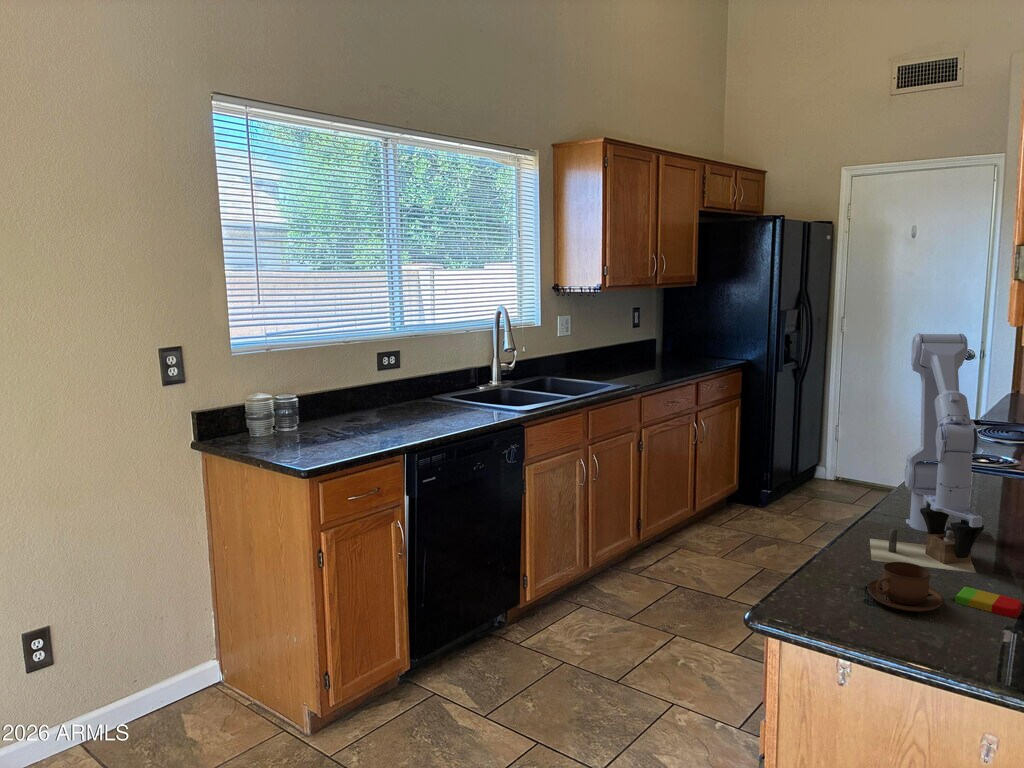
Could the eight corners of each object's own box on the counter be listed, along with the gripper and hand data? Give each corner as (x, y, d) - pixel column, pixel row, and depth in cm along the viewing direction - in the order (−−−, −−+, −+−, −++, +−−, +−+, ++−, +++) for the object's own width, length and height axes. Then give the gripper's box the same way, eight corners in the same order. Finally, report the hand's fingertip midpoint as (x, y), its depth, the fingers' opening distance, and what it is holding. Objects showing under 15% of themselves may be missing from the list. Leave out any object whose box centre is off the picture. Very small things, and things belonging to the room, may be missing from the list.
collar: (925, 553, 154) (926, 534, 154) (950, 552, 155) (952, 533, 155) (943, 564, 149) (945, 544, 148) (970, 562, 150) (971, 542, 149)
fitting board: (869, 543, 164) (871, 513, 163) (966, 554, 156) (968, 523, 156) (871, 564, 152) (872, 533, 151) (975, 577, 145) (978, 545, 144)
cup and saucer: (921, 624, 127) (924, 589, 126) (853, 600, 137) (855, 567, 136) (955, 605, 134) (958, 571, 133) (888, 583, 144) (890, 552, 143)
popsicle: (1016, 621, 128) (1017, 610, 128) (919, 596, 138) (920, 586, 138) (1023, 610, 132) (1024, 600, 132) (928, 586, 142) (929, 577, 142)
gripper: (911, 475, 156) (907, 538, 158) (959, 495, 142) (954, 565, 144) (943, 473, 157) (938, 536, 159) (994, 494, 143) (989, 563, 145)
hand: (948, 550), depth 152 cm, fingers open, 7 cm apart
